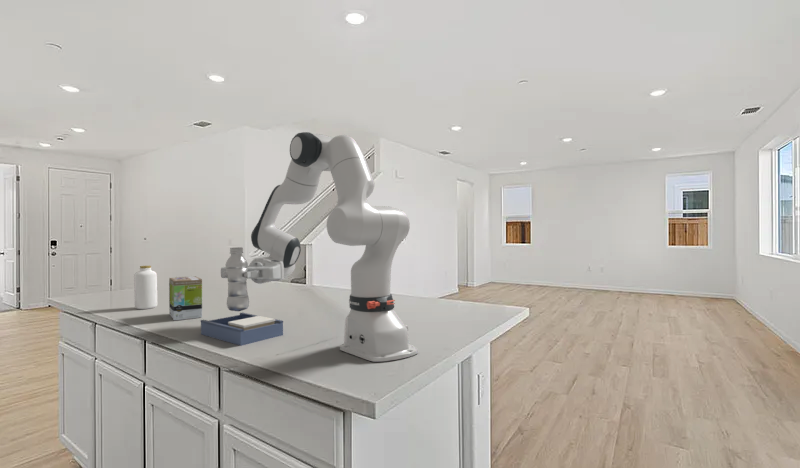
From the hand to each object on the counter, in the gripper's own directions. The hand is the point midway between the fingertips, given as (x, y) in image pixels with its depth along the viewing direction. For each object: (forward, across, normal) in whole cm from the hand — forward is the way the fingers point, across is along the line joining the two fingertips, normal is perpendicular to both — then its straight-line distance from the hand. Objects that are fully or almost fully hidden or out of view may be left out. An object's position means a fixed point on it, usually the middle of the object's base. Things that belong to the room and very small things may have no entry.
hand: (235, 274), depth 130 cm
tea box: (-19, -38, +19) cm, 47 cm away
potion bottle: (-29, -69, +19) cm, 77 cm away
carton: (+4, +9, +18) cm, 21 cm away
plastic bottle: (-1, 0, +12) cm, 12 cm away
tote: (+3, +4, +19) cm, 19 cm away
